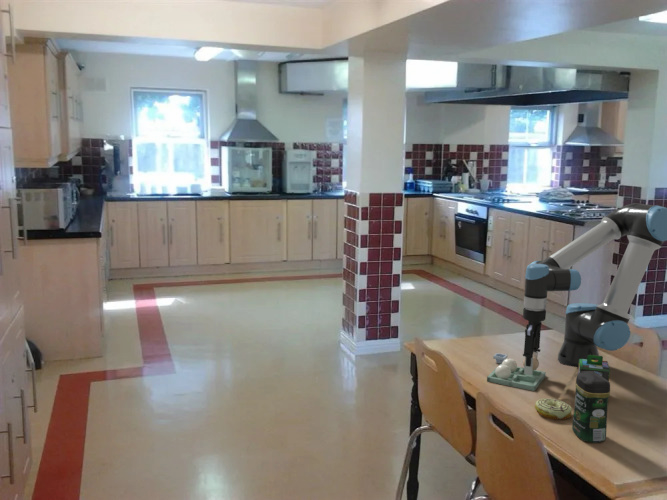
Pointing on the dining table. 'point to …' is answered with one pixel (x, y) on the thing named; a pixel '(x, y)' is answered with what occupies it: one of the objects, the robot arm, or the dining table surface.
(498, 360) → the egg cup
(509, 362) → the cream egg
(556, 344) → the dining table surface
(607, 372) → the chalk box
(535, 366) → the brown egg
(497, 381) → the carton
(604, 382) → the coffee jar
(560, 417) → the decorated donut
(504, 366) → the cream egg
